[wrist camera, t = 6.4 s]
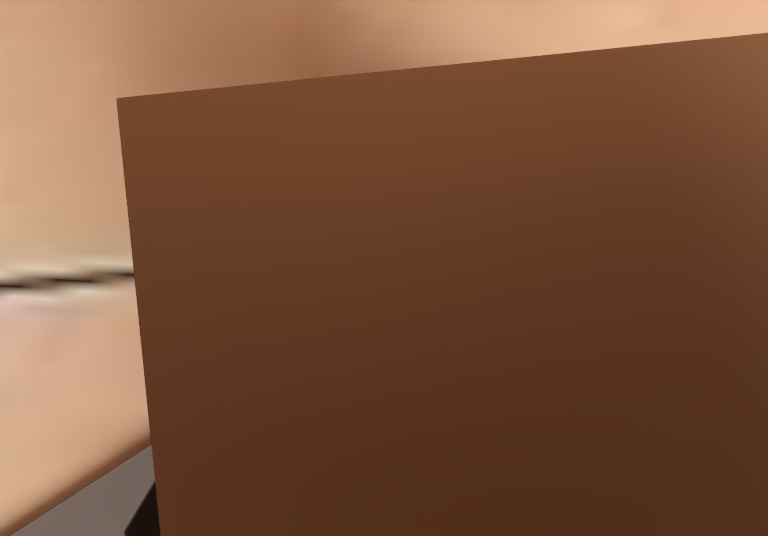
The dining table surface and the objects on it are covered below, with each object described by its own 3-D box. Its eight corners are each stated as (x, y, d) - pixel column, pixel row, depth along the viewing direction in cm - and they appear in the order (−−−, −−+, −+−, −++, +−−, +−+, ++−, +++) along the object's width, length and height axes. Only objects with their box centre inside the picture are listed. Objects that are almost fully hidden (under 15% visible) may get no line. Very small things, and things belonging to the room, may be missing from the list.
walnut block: (530, 456, 15) (1315, 1001, 3) (324, 492, 15) (243, 1354, 2) (496, 253, 16) (1043, 5, 4) (297, 280, 15) (115, 99, 3)
